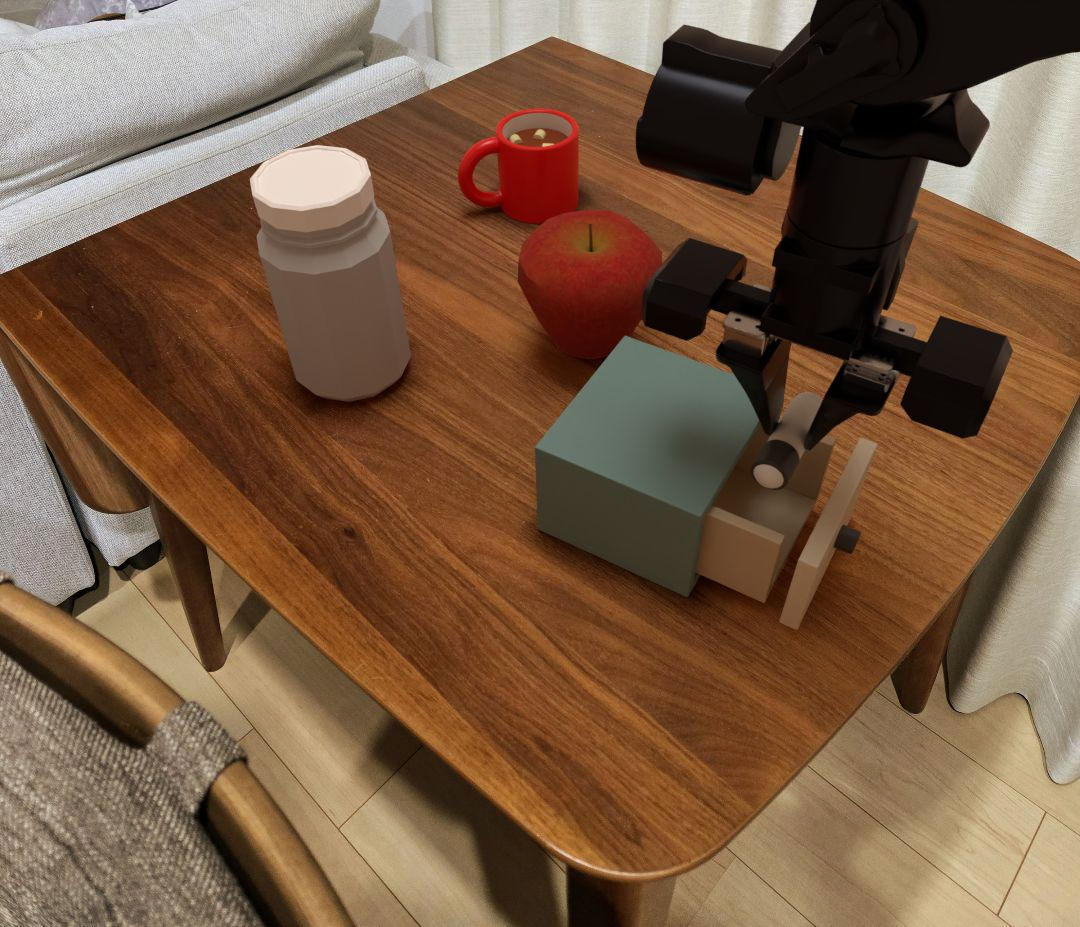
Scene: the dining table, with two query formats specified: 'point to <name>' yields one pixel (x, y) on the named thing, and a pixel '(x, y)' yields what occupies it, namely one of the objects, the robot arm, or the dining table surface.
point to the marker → (786, 443)
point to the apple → (587, 279)
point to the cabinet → (643, 461)
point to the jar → (331, 271)
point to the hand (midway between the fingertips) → (790, 437)
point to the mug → (528, 166)
